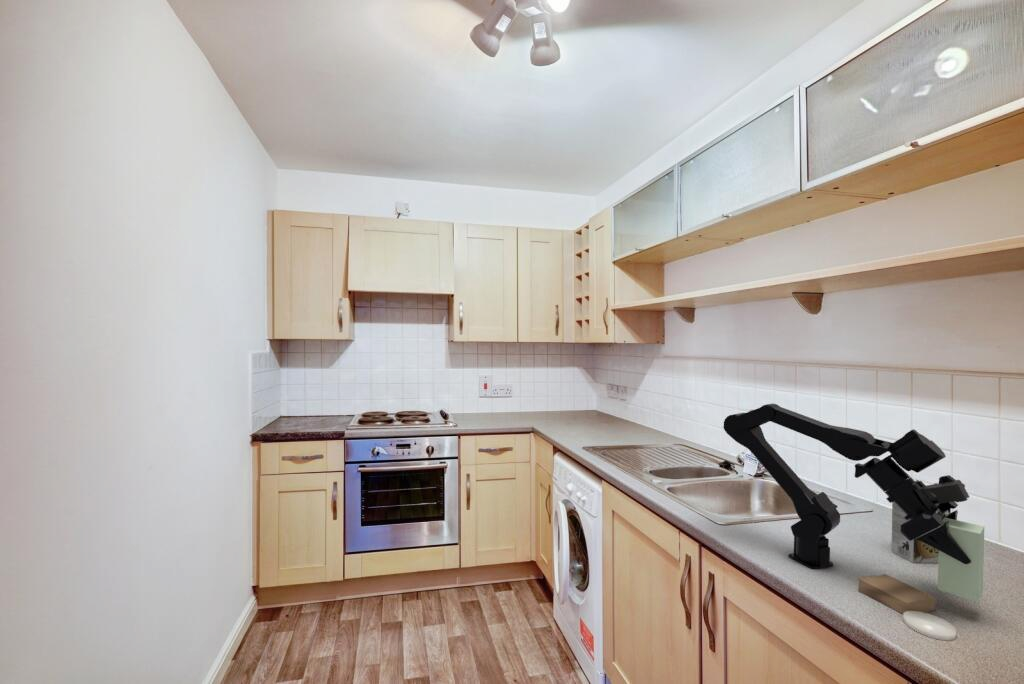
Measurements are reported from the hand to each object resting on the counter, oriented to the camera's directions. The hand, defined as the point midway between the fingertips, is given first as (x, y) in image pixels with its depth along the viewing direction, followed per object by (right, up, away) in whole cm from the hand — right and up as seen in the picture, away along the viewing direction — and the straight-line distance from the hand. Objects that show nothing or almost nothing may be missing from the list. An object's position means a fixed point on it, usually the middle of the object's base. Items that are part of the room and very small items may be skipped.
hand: (971, 558), depth 86 cm
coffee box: (+11, -11, +24) cm, 29 cm away
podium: (-10, -10, +5) cm, 15 cm away
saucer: (-12, -10, -4) cm, 16 cm away
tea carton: (-1, -7, +1) cm, 7 cm away
